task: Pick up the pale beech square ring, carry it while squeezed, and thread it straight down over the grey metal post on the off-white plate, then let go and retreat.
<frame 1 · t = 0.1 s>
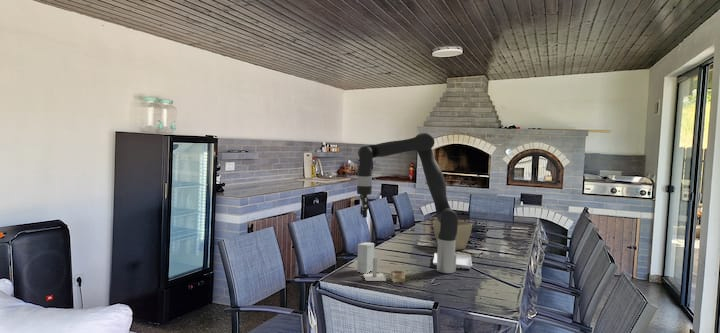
hand: (363, 216, 224), 29 cm above the table, tool pointing down, fingers open, 8 cm apart
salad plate: (452, 264, 245), on the table
post: (374, 278, 215), on the table
ring: (397, 280, 213), on the table
skincare box: (365, 271, 226), on the table
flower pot: (451, 248, 284), on the table
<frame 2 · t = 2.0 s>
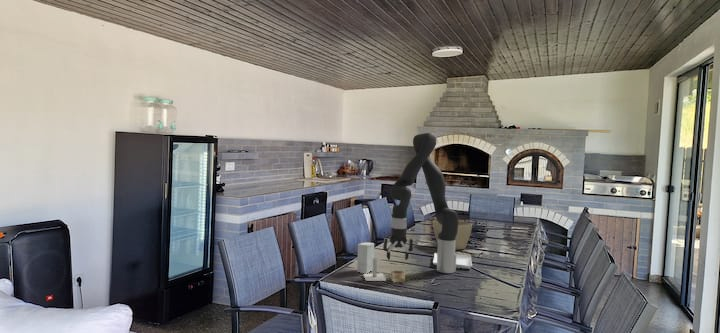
hand: (397, 259, 213), 10 cm above the table, tool pointing down, fingers open, 8 cm apart
nothing on the table moved.
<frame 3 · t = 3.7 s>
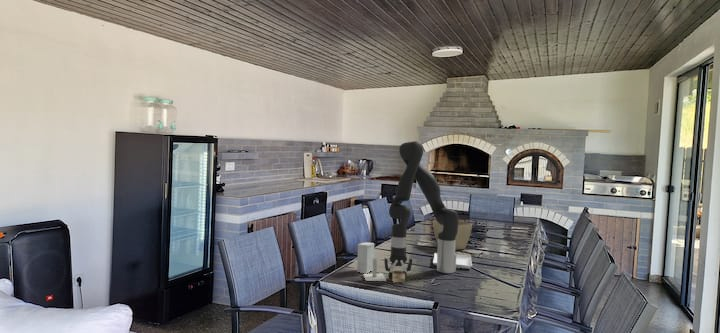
hand: (397, 279, 213), 1 cm above the table, tool pointing down, fingers closed on ring, 6 cm apart
ring: (397, 280, 213), on the table, touching gripper
everything else where it was.
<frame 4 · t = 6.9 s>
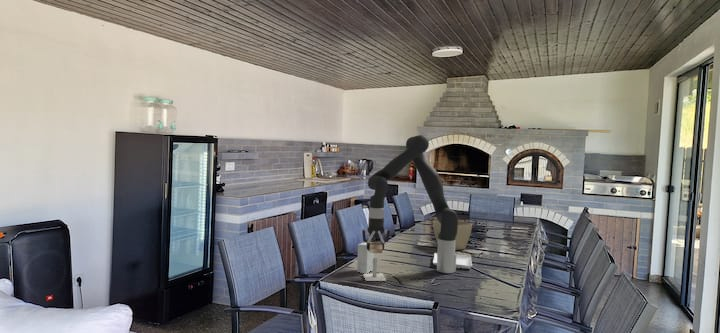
hand: (375, 250, 214), 14 cm above the table, tool pointing down, fingers closed on ring, 6 cm apart
ring: (375, 251, 214), point 14 cm above the table, touching gripper
everything else where it was.
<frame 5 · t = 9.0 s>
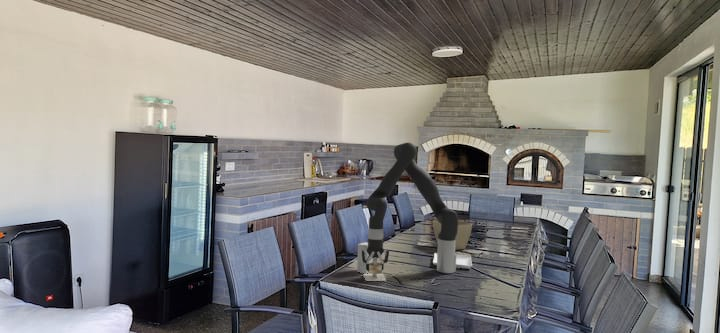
hand: (374, 270, 215), 4 cm above the table, tool pointing down, fingers closed on ring, 6 cm apart
ring: (374, 271, 215), point 3 cm above the table, touching gripper
everything else where it was.
when the fingers open (3 cm above the table, at t = 10.4 s): ring drops 1 cm, resting on post.
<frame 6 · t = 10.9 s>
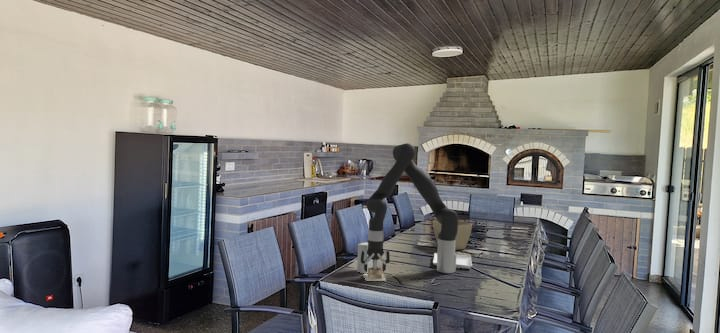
hand: (374, 271, 215), 4 cm above the table, tool pointing down, fingers open, 8 cm apart
ring: (374, 276, 215), point 1 cm above the table, touching post
everything else where it was.
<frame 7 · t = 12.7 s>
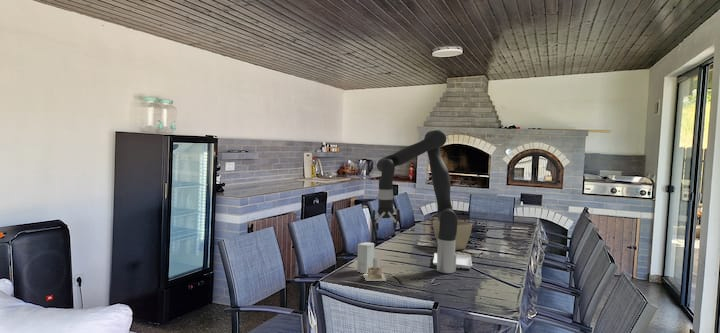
hand: (385, 229, 220), 23 cm above the table, tool pointing down, fingers open, 8 cm apart
nothing on the table moved.
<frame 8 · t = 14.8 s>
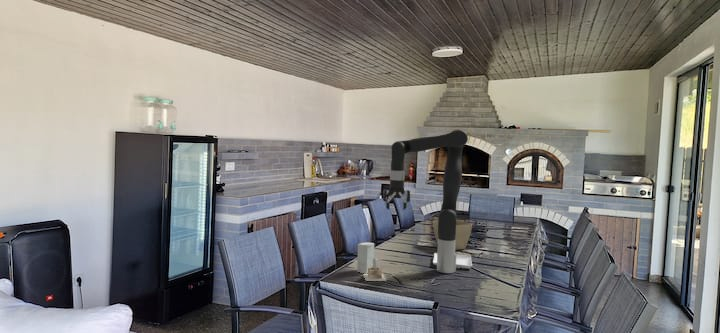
hand: (396, 209, 230), 32 cm above the table, tool pointing down, fingers open, 8 cm apart
nothing on the table moved.
at the end: ring 0.1 cm off-centre on the post, point 1.0 cm above the post's base; the gripper is holding nothing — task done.
